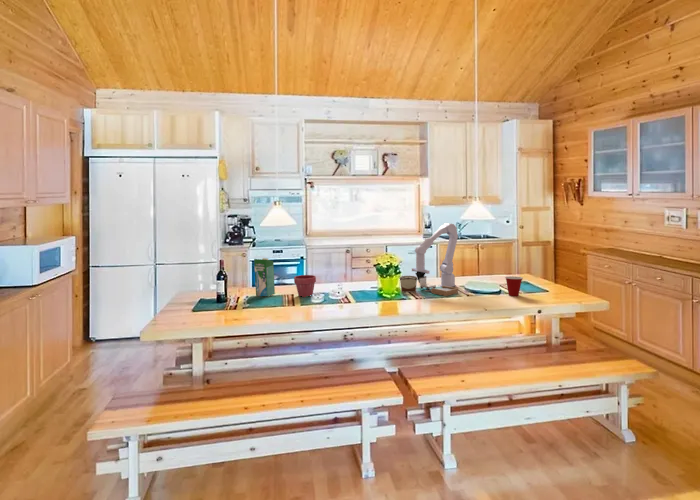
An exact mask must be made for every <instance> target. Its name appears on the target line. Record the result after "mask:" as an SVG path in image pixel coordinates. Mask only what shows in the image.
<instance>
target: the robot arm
mask: <svg viewBox="0 0 700 500" xmlns="http://www.w3.org/2000/svg"><path fill="white" fill-rule="evenodd" d="M457 228H458V227H457V226H456V224H454V223H449V222H444V223H443V224H442V225H440V226H439V228H438V229H437V230H436V231H434V233H432V235H431V236H430V237H427V238H424V239H423V240H424V241H423V242H421V243H419V245H417V246H415V249H414V252H415V254H416V255H415V258H416V259H415V262H416V263H415V267H413V268H411V272H415V275H416V277H417V279H418V280H417V282H418V283H419V284H420V279H419V278H420V277H424V276H426V274H427V275H428V274H430V270H428V269H425V266H426V265H425V262H426V261H425V257H426V256H425V254H426V252H427V250H428V249H430V247H432V246H433V244H434V242H435V240H437V239H438V238H439V237H441V235H445V234H446V235H447V236H448V237H449V238H448V242H447V247H446V251H445V256H444V259H443V260H442V263H441V264H440V265H439V270H440V271H441V273H440V275H441V277H440V281H441V284H439V285H438V287H441V288H442V286H449V287H456V277H455V274H454V263H453V258H454V255H455V250H456V246H457V242H458V239H459V238H458V237H459V235H458V229H457Z"/></svg>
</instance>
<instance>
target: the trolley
mask: <svg viewBox="0 0 700 500" xmlns="http://www.w3.org/2000/svg"><path fill="white" fill-rule="evenodd" d="M419 279H420V283H419V288H420V289H423V288H424V289H426V290H429V289H432V288H436V286H437V285H436V284H433V283H427V276H426V275H424V277H420V278H419Z"/></svg>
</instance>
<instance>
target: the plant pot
mask: <svg viewBox="0 0 700 500" xmlns="http://www.w3.org/2000/svg"><path fill="white" fill-rule="evenodd" d="M293 281H294V284H295V287H296V291H297V295H298V297H300V296H302V297H301V298H307V297H306V296H310V295H312V294H314V289H315V283H316V282H317V277H316V275H314V274H313V275H312V274H301V275H296V276H294V277H293ZM312 296H313V295H312ZM310 297H311V296H310Z"/></svg>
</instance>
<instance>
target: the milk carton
mask: <svg viewBox="0 0 700 500" xmlns="http://www.w3.org/2000/svg"><path fill="white" fill-rule="evenodd" d="M253 264H254V279H255V284H254V285H255V297H262V296H268V297H271V296H273V295H272V294H274V295H275V294H276V291H275V289H276V288H275V269H274V266H275V265H274V260H270V259H269V258H267V257H262V258H254V261H253ZM270 295H271V296H270Z"/></svg>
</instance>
